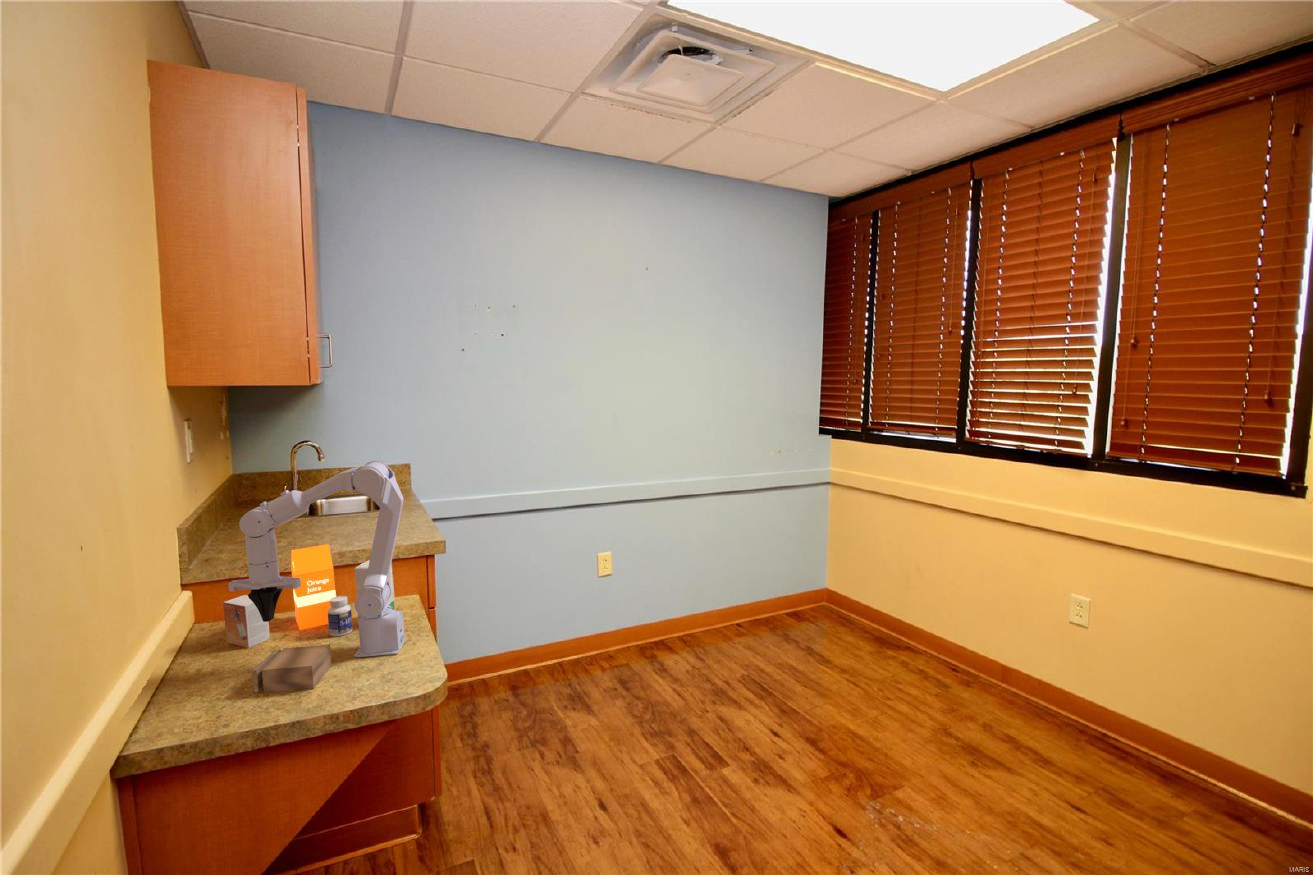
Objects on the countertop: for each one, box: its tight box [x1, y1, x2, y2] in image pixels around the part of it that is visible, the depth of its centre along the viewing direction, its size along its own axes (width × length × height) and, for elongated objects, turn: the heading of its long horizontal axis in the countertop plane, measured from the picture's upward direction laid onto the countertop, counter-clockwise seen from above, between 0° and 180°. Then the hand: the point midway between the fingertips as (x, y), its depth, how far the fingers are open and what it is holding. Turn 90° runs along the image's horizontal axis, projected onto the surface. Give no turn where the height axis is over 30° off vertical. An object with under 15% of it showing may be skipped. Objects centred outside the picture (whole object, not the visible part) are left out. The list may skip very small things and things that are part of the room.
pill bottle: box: [327, 595, 353, 637], centre depth 155 cm, size 5×5×9 cm
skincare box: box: [354, 559, 396, 610], centre depth 162 cm, size 8×7×16 cm
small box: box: [222, 594, 271, 649], centre depth 151 cm, size 8×6×10 cm
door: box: [251, 649, 282, 693], centre depth 131 cm, size 1×10×5 cm, turn 5°
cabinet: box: [262, 644, 332, 694], centre depth 132 cm, size 10×10×5 cm
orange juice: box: [290, 544, 337, 631], centre depth 162 cm, size 8×9×20 cm
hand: (268, 619), depth 139 cm, fingers closed
